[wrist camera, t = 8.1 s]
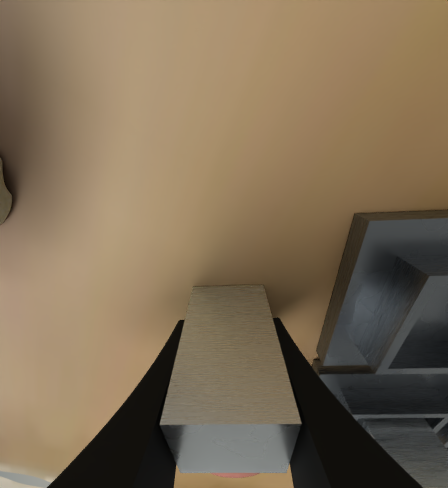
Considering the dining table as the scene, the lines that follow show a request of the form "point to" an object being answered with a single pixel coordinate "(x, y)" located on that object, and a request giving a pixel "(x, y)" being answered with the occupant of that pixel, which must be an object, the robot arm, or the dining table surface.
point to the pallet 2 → (389, 394)
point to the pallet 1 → (391, 295)
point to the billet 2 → (412, 448)
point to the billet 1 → (230, 387)
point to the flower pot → (4, 198)
